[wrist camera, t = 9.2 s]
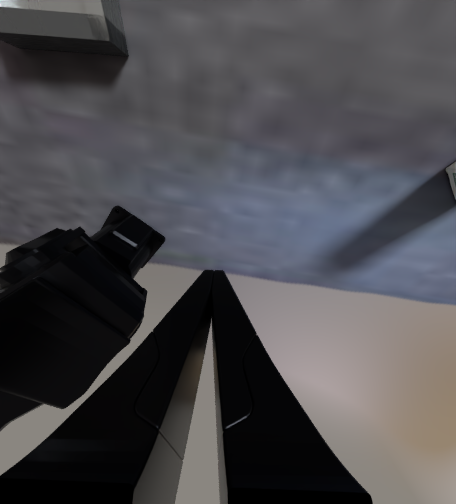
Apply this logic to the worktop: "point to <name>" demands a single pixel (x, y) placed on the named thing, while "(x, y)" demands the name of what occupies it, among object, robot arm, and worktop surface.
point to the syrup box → (452, 177)
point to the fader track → (64, 25)
